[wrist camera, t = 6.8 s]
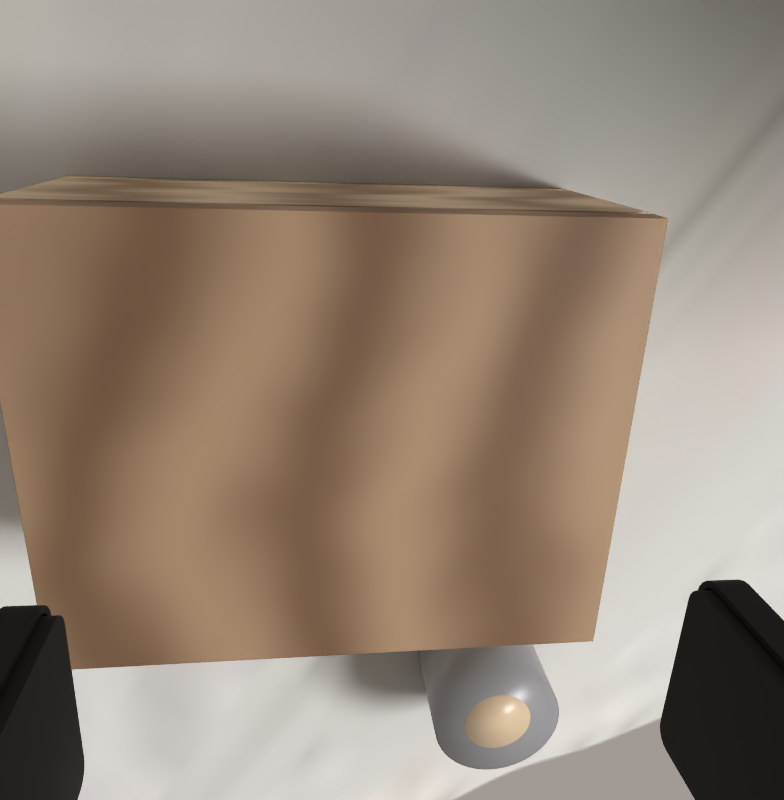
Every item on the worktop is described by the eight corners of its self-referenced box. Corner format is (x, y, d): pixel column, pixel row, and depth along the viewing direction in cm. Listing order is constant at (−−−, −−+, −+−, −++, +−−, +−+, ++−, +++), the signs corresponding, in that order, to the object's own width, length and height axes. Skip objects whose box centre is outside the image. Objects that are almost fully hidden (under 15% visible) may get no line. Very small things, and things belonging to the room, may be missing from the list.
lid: (653, 213, 23) (668, 218, 22) (583, 623, 29) (592, 641, 28) (-21, 199, 20) (-36, 203, 19) (57, 650, 26) (48, 670, 26)
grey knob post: (533, 601, 38) (566, 668, 34) (522, 690, 41) (551, 765, 36) (421, 606, 38) (439, 675, 33) (416, 697, 40) (431, 774, 35)
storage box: (563, 189, 31) (648, 212, 23) (525, 519, 36) (583, 623, 29) (66, 175, 28) (-16, 197, 21) (110, 533, 34) (57, 649, 27)
